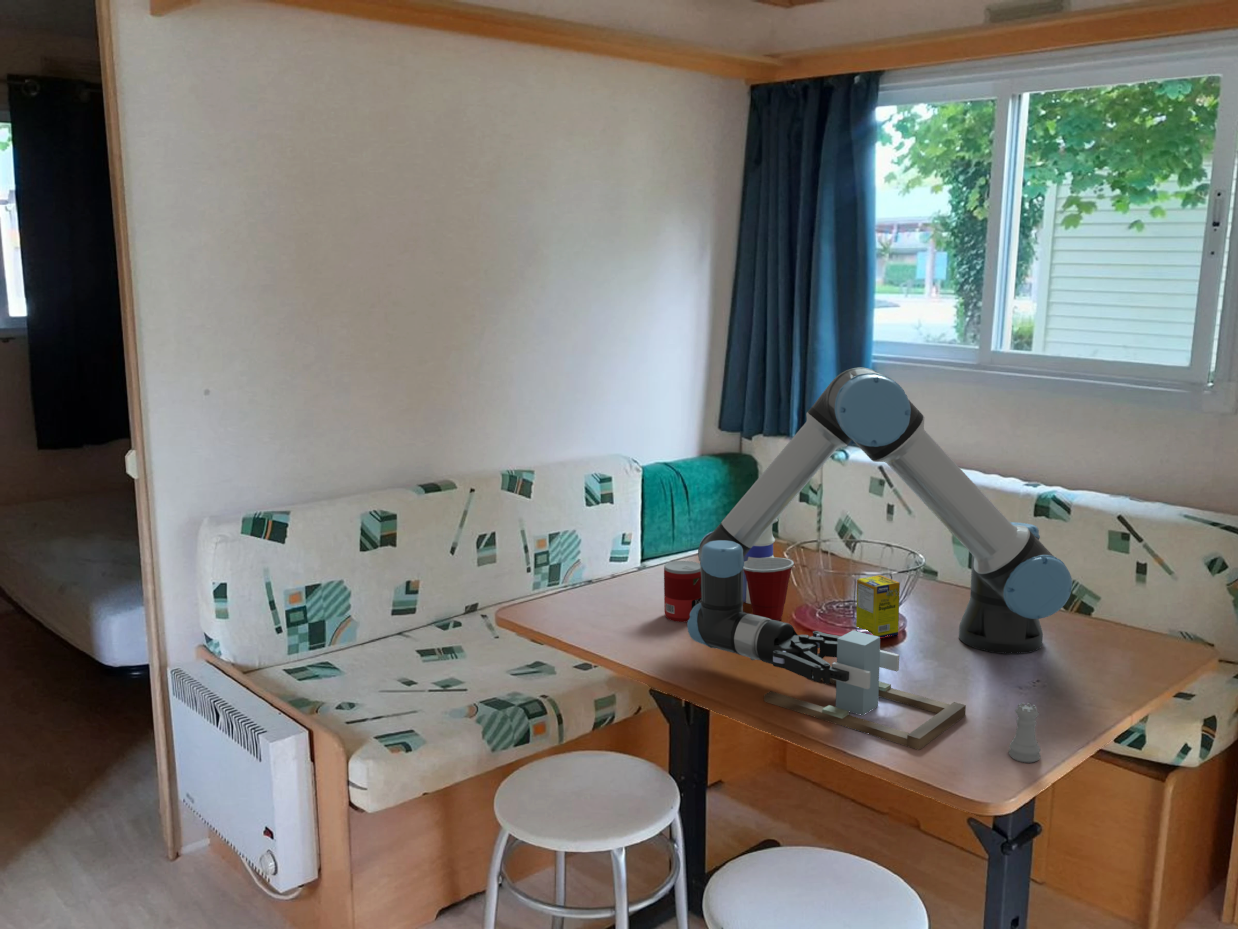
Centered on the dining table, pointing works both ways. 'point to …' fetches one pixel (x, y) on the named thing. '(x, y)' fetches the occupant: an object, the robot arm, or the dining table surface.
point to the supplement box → (878, 605)
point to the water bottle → (758, 556)
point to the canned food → (681, 589)
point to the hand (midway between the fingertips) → (883, 671)
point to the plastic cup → (768, 585)
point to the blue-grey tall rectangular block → (862, 655)
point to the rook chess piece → (1025, 735)
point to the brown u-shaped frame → (915, 739)
